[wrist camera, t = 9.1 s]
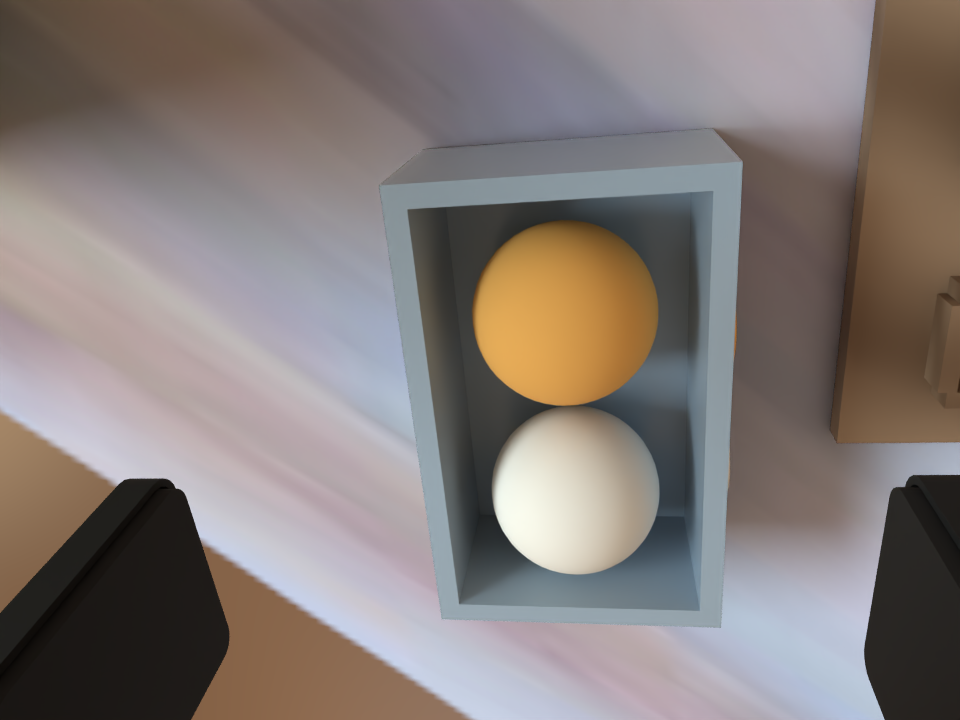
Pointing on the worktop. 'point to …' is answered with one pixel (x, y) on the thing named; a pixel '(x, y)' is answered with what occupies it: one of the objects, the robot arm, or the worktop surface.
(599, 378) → the orange ball
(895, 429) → the walnut rack
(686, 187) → the pale blue tray
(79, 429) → the worktop surface
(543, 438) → the cream ball in tray
